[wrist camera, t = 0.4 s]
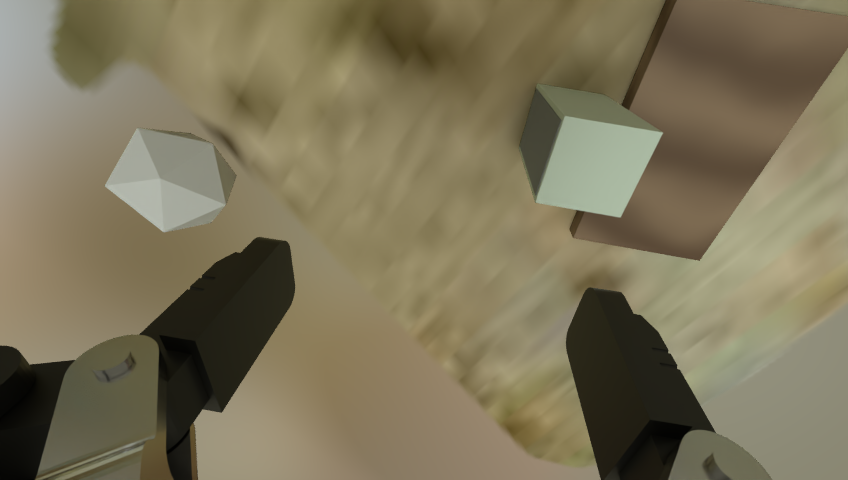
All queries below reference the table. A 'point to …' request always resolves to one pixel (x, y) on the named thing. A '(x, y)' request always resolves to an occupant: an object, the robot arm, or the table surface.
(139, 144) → the die
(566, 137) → the sage block
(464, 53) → the table surface
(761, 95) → the board
